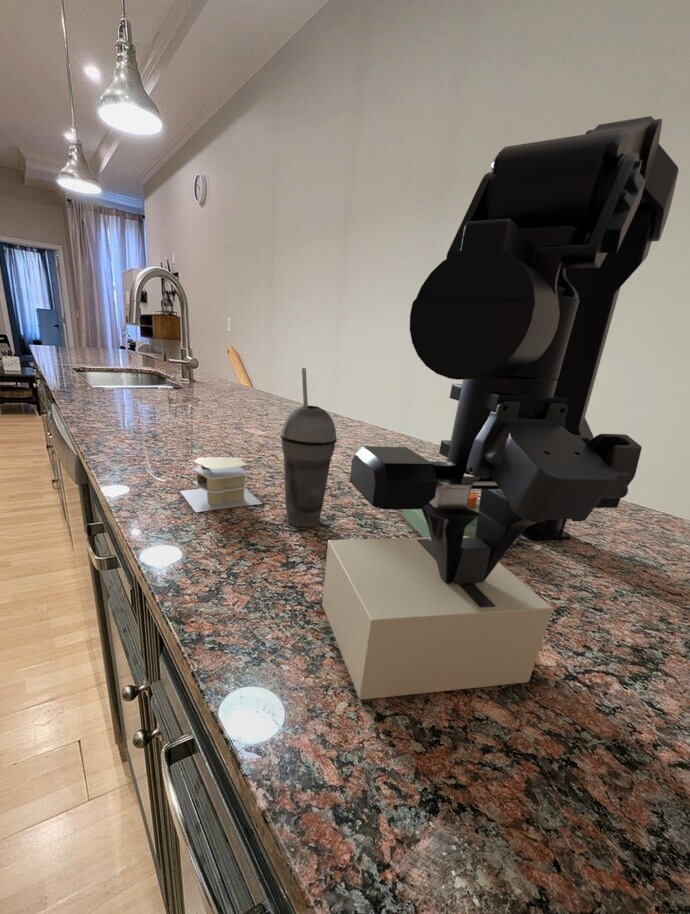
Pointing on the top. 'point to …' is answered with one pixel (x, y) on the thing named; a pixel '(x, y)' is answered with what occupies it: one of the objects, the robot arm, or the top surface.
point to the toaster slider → (472, 561)
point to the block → (420, 526)
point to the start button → (472, 500)
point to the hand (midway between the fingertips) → (461, 580)
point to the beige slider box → (427, 620)
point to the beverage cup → (306, 460)
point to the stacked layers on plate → (219, 485)
